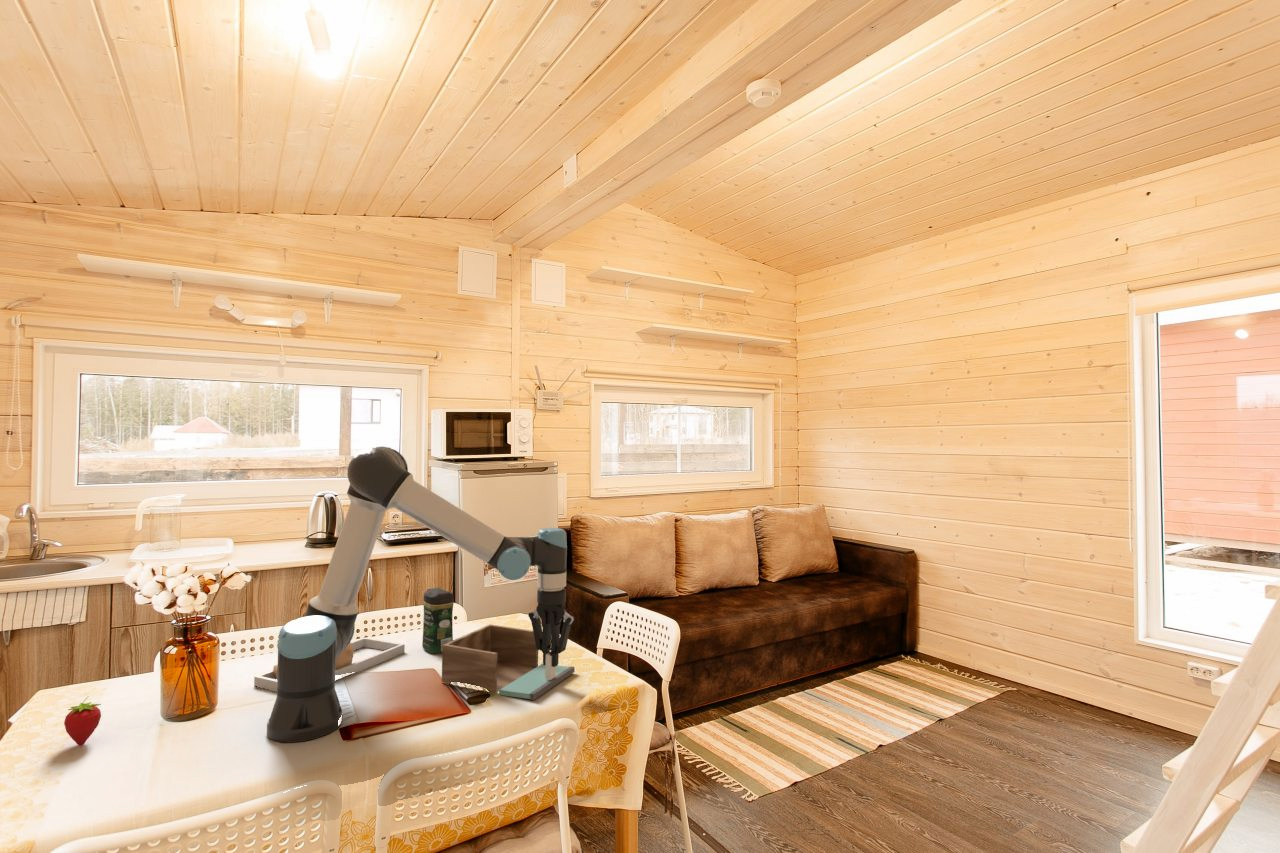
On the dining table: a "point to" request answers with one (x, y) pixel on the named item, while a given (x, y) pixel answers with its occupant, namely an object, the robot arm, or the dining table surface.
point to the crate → (489, 657)
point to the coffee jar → (437, 619)
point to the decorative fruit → (82, 721)
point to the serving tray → (391, 651)
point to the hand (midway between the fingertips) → (550, 677)
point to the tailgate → (535, 682)
